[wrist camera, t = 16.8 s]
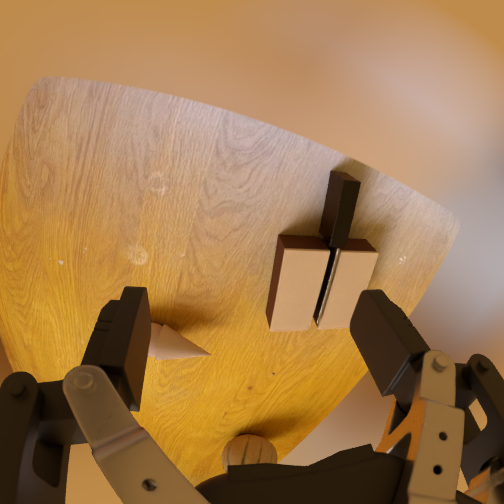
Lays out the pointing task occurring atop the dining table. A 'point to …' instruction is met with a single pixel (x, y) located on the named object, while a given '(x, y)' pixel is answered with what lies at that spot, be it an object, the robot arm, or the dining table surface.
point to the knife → (336, 226)
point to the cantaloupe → (248, 451)
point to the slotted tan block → (316, 282)
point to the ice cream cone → (171, 344)
